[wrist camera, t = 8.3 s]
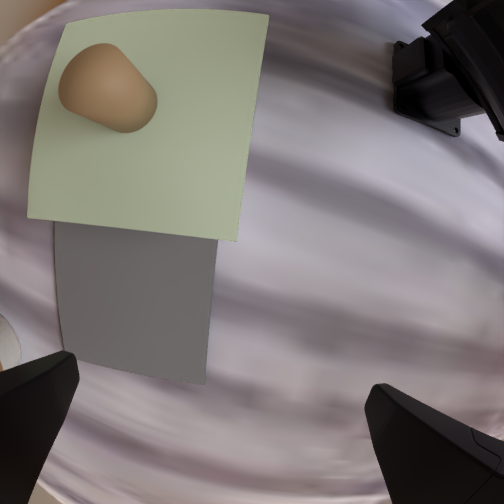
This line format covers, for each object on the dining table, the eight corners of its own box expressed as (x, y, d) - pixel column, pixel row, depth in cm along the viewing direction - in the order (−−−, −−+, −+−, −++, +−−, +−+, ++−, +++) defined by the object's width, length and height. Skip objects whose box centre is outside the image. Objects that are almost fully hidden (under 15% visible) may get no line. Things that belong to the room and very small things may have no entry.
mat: (219, 225, 18) (219, 226, 18) (204, 381, 21) (204, 384, 20) (58, 208, 17) (55, 209, 17) (67, 353, 20) (65, 355, 20)
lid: (267, 23, 12) (281, -38, 7) (236, 238, 15) (236, 267, 9) (73, 29, 11) (30, -9, 6) (36, 215, 14) (-27, 230, 8)
